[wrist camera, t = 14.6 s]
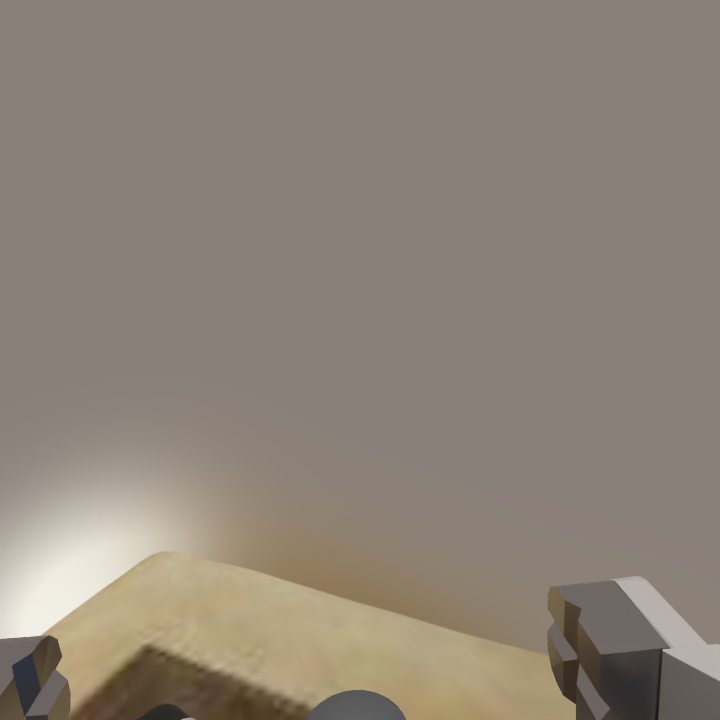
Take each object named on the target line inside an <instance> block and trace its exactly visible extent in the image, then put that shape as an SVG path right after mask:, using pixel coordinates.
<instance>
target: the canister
mask: <svg viewBox="0 0 720 720" xmlns="http://www.w3.org/2000/svg"><path fill="white" fill-rule="evenodd" d="M306 720H406V718H405V716H404V715H403V713H402V711H401V710H400V709H399V707H398V706H397V705H396V704H395V703H393V702H392V701H391V700H389V699H388V698H386V697H384V696H383V695H380V694H378V693H375V692H371V691H365V690H351V691H345V692H341V693H338V694H336V695H333V696H331V697H329V698H327V699H326V700H324V701H323V702H321V703H320V704H319V705H317V706H316V707H315V708H314V709H313V710H312V711H311V713H310V714H309V715H308V717H307V718H306Z"/></svg>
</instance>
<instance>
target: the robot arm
mask: <svg viewBox="0 0 720 720" xmlns="http://www.w3.org/2000/svg"><path fill="white" fill-rule="evenodd" d="M548 610H549V611H550V613H551V615H552V617H553V618H554V620H555V622H554V623H553V625H552V626H551V627H550V629H549V630H548V633H547V636H548V652H549V658H550V663H551V668H552V671H553V673H554V676H555V679H556V682H557V684H558V686H559V688H560V690H561V692H562V694H563V696H565V697H566V698H568V699H569V700H570V701H572V702H573V703H575V704H576V720H720V645H718V644H712V645H707V644H706V643H705V642H704V641H703V640H702V639H701V637H700V636H699V635H698V634H697V633H696V632H695V631H694V630H693V629H692V628H691V627H690V626H689V625H688V624H687V623H686V622H685V620H683V618H682V617H681V616H680V615H678V613H677V612H676V611H675V610H674V609H673V608H672V607H671V606H670V605H669V604H668V603H667V601H666V600H665V599H664V598H663V597H662V596H661V595H660V594H659V593H658V592H657V591H656V590H655V589H654V588H653V587H652V586H651V585H650V584H649V582H648V581H647V580H646V579H644V578H642V577H640V576H633V577H625V578H617V579H610V580H608V581H601V582H591V583H582V584H572V585H562V586H553V587H550V589H549V593H548ZM61 658H62V654H61V650H60V647H59V643H58V640H57V639H56V638H54V637H52V636H50V635H48V636H35V637H22V638H8V639H0V720H68V717H69V713H70V689H69V684H68V680H67V679H66V678H65V677H63V676H62V675H61V674H60V673H59V672H58V671H57V670H56V667H57V665H58V663H59V662H60V660H61Z"/></svg>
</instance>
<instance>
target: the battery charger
mask: <svg viewBox="0 0 720 720" xmlns="http://www.w3.org/2000/svg"><path fill="white" fill-rule="evenodd" d="M136 720H195V719H193V718H190V717H189V716H188V715H187V714H186V713H184V712H183V711H182V710H181V709H180V708H179V707H177V706H176V705H174V704H161V705H158V706H156V707H154V708H152V709H151V710H149V711H147V712H146V713H145V714H143V715H142V716H141V717H139V718H138V719H136Z"/></svg>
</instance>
